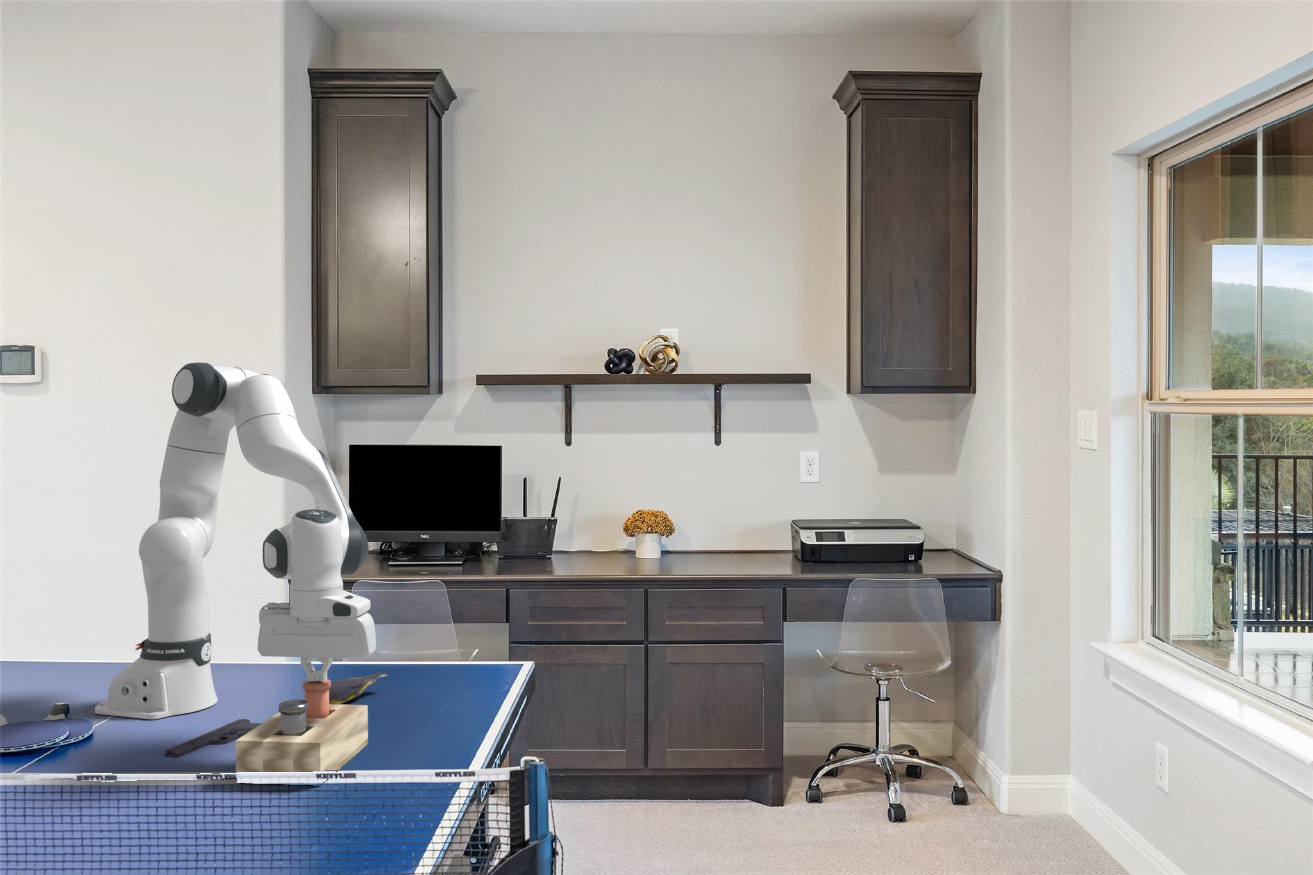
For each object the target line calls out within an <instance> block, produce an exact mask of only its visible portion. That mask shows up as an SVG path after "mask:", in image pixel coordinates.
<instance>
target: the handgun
mask: <svg viewBox="0 0 1313 875" xmlns="http://www.w3.org/2000/svg"><path fill="white" fill-rule="evenodd" d="M262 723H263V722H262ZM262 723H261V722H260V723H259V722H251V720H250V719H247V718H239V719H236V720H235V721H232V722H230V723H227V724H225V725H223V726H220V727H218V728H216V729H213V730H210V731H209V732H208V731H207V732H206V733H203V734H200V736H199V735H198V736H197V737H194V738H192V739H189V740H187V741H185V742H183V743H180V744H178V745H175V746H173V747H170V748H168V749H166V750H165V754H164V755H165V756H166V757H170V756H176V757H175V758H179V757H182V756H183V755H186V754H188V753H190V752H194V751H195V749H197V750H199V749H201V748H203V747H205V746H208V745H222V744H223V745H224V744H228V743H231V742H233V741H234V740H235V741H236V740H238V739H239V738H241V737H242V736H244V735H245V734H247V733H248V732H250V731H251V730H253V729H254V728H256V727H257V726H259V725H261V724H262ZM168 755H170V756H168ZM178 756H179V757H178Z"/></svg>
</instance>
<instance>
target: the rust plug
mask: <svg viewBox="0 0 1313 875" xmlns="http://www.w3.org/2000/svg"><path fill="white" fill-rule="evenodd" d="M331 682H332V681H331V680H330V679H328V678H327V681H326V682H324V683H316V682H307V680H305V681H303V682H302V690H303V691H304V700H306V701H308V710H306V718H321V719H325V718H326V717H328V716H329V688H330V687H331Z"/></svg>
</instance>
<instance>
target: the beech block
mask: <svg viewBox="0 0 1313 875" xmlns="http://www.w3.org/2000/svg"><path fill="white" fill-rule="evenodd" d="M368 706H369V705H367V704H340V705H338V704H329V716H328V717H326V718H325V719H321V718H306V733H305V734H303V735H302V736H282V735H281V713H279V712H278V713H276V714H274V715H272V716H271V717H270V718H268V719H267V720H265V721H264V722H262V724H261V725H259V726H257V727H256V728H254V729H253V730H251V731H250V732H248V733H247V734H245V735H244V736H242V737H241V738H237V739H235V773H236V772H313V771H325V770H338V771H339V770H341V769H342V768H343V767H344V766H346V764H348V762H350V760H352V759H353V758H354V757H355V756H356V755H357V754H358V753H359V752H361V751H362V750H363V749H364V748H365V747H366V746H367V745H369V711H368V710H369V707H368ZM343 765H344V766H343ZM341 767H342V768H341Z"/></svg>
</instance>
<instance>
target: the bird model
mask: <svg viewBox="0 0 1313 875" xmlns="http://www.w3.org/2000/svg"><path fill="white" fill-rule="evenodd" d="M388 676H389V675H388V674H387V673H385V672H376V673H374V674H370V675H364V676H358V677H357V676H353V677H347V678H340V679H337V680H334V681H331V687H330V688H329V704H338V705H343V704H344V703H347V702H348V701H350V700H352V699H354V698H356V697H359V696H360V695H361V694H362V693H363V691H365V690H366V688H369V687H371V686H373V685H375V683H376V682H377V680H378V679H380V678H384V677H388Z"/></svg>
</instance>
